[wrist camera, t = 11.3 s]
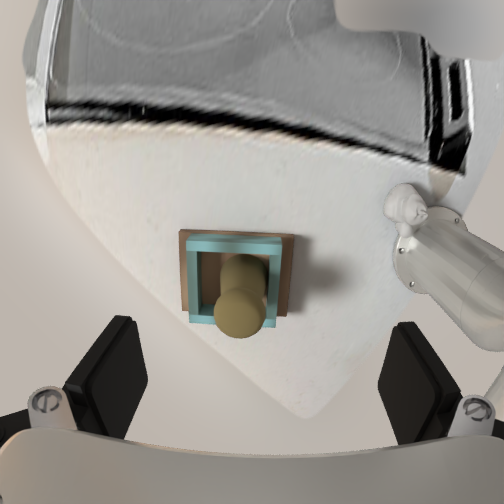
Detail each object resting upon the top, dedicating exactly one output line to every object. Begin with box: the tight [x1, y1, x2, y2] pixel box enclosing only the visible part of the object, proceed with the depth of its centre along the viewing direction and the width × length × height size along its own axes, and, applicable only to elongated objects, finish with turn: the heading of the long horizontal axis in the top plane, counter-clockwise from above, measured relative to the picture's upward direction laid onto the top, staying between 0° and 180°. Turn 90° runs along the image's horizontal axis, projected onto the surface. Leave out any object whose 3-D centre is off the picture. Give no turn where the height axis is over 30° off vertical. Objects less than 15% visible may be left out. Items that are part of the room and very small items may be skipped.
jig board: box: [179, 229, 294, 328], centre depth 40 cm, size 14×11×4 cm
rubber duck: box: [384, 183, 428, 238], centre depth 35 cm, size 5×7×8 cm
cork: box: [214, 254, 268, 339], centre depth 35 cm, size 6×6×11 cm
